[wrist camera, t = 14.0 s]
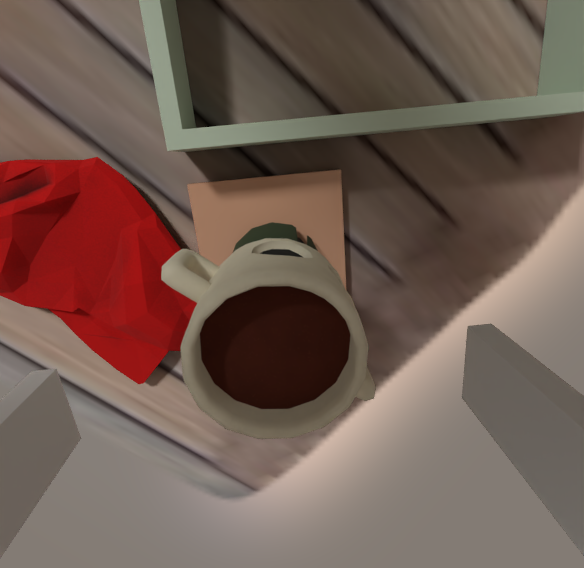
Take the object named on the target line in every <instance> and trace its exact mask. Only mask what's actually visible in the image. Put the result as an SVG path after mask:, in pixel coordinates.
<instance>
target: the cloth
mask: <svg viewBox="0 0 584 568" xmlns="http://www.w3.org/2000/svg"><path fill="white" fill-rule="evenodd" d="M180 250H181V249H180V247H179V246H178V244H177V243H176V242H175V240H174V239H173V237H172V236H171V234H170V233H169V232H168V230H167V229H166V227H165V226H164V225H163V223H162V222H161V220H160V219H159V218H158V216H157V215H156V213H155V212H154V211H153V210H152V208H151V207H150V206H149V205H148V203H147V202H146V201H145V200H144V198H143V197H142V196H141V195H140V193H139V192H138V191H137V190H136V188H135V187H134V186H133V185H132V184H131V183H130V182H129V181H128V180H127V179H126V178H125V177H124V176H123V175H122V174H120V173H119V172H117V171H116V170H115V169H113V168H112V167H111V166H109V165H108V164H106V163H105V162H104V161H102V160H101V159H99V158H98V157H95V158H90V159H86V160H15V161H7V162H1V163H0V295H1V296H3V297H5V298H8V299H10V300H12V301H15V302H17V303H20V304H22V305H24V306H30V307H39V308H47V309H49V310H50V311H51V312H53V313H54V314H55V315H57V316H58V317H60V318H61V319H62V320H63V321H64V322H65V323H66V325H67V326H68V327H69V328H70V329H71V330H72V331H73V332H74V333H75V334H76V335H77V336H78V337H79V338H80V339H81V340H82V341H83V342H84V343H85V344H87V345H88V346H89V347H90V348H91V349H92V350H93V351H94V352H95V353H97V354H98V355H99V356H100V357H102V358H103V359H104V360H106V361H107V362H108V363H109V364H111V365H112V366H113V367H114V368H116V369H117V370H118V371H120V372H121V373H123V374H124V375H126V376H127V377H129V378H130V379H132V380H133V381H135V382H136V383H138V384H142V383H144V382H145V381H146V379H147V378H148V377H149V376H150V374H151V373H152V372H153V371H154V369H155V368H156V367H157V366H158V364H159V363H160V362H161V360H162V359H163V358H164V356H165V355H166V354H167V353H168V351H181V349H180V347H181V343H182V340H183V337H184V335H185V332H186V329H187V327H188V324H189V322H190V319H191V316H192V314H193V311H194V309H195V307H196V305H197V303H196V302H195V301H193V300H191V299H190V298H188V297H186V296H185V295H183V294H181V293H179V292H178V291H176V290H174V289H173V288H171V287H170V286H169V285H167V284H166V283H165V282H164V281H162V280H161V273H162V266H163V265H164V264H165V263H166V262H167V261H168V260H169V259H170V258H171V257H172V256H173V255H174V254H175V253H177V252H178V251H180Z"/></svg>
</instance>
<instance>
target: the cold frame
mask: <svg viewBox="0 0 584 568" xmlns="http://www.w3.org/2000/svg"><path fill="white" fill-rule="evenodd" d="M139 3H140V8H141V14H142V19H143V24H144V30H145V35H146V40H147V45H148V51H149V56H150V61H151V67H152V72H153V77H154V82H155V88H156V93H157V98H158V104H159V109H160V114H161V119H162V125H163V130H164V135H165V141H166V146H167V151H178V152H189V151H199V150H209V149H220V148H230V147H241V146H251V145H262V144H272V143H283V142H293V141H304V140H314V139H325V138H335V137H346V136H356V135H367V134H377V133H388V132H398V131H409V130H419V129H430V128H440V127H451V126H461V125H472V124H482V123H493V122H503V121H514V120H524V119H535V118H545V117H553V116H560V115H567V114H574V113H581V112H584V0H548V4H547V13H546V22H545V31H544V39H543V48H542V57H541V66H540V74H539V83H538V92H537V96H530V97H519V98H509V99H498V100H488V101H477V102H466V103H456V104H445V105H435V106H424V107H414V108H403V109H393V110H382V111H371V112H361V113H350V114H340V115H329V116H319V117H308V118H297V119H287V120H276V121H266V122H255V123H245V124H234V125H224V126H213V127H202V128H196V124H195V117H194V111H193V105H192V99H191V93H190V87H189V80H188V74H187V68H186V62H185V56H184V50H183V43H182V37H181V31H180V25H179V19H178V13H177V6H176V0H139Z"/></svg>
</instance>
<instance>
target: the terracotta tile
mask: <svg viewBox="0 0 584 568" xmlns="http://www.w3.org/2000/svg"><path fill="white" fill-rule="evenodd" d="M187 185H188V191H189V197H190V202H191V208H192V214H193V219H194V225H195V231H196V236H197V242H198V247H199V253H200V255H201V256H203V257H205V258H206V259H208V260H209V261H211V262H213V263H214V264H216V265H217V266H220V265H221V264H222V263H223V262H224V261H225V260H226V259H227V258H228V257H229V256H230V255H231V254H232V253H233V250H234V248H235V245H236V243H237V242H238V241H239V240H240V239H241V238H242V237H243V236H244V235H245V234H246V233H247V232H248V231H249V230H250V229H252V228H255V227H258V226H261V225H265V224H268V223H271V222H274V223H282V224H290V225H293V226H294V227H296V230H297V237H299V238H300V239H301V240H302V241H303V242H304V244H306V245H307V236H309V237H310V238H311V239H312V241H313V243H314V245H315V246H316V248H317V250H318V252H319V253H320V254H322V255H323V256H324V257H325V258H326V259H327V260H328V261H329V263H330V264H331V265H332V266H333V267H334V269H335V270H336V271H337V272H338V273H339V276H340V278H341V280H342V283H343V285H344V287H345V289H346V270H345V248H344V226H343V203H342V181H341V170H340V169H336V170H326V171H316V172H305V173H295V174H285V175H274V176H264V177H253V178H243V179H233V180H222V181H212V182H201V183H191V184H187Z"/></svg>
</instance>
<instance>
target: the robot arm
mask: <svg viewBox="0 0 584 568" xmlns="http://www.w3.org/2000/svg"><path fill="white" fill-rule="evenodd" d="M462 398H463V400H464V401H465V402H466V404H467V405H468V406H469V407H470V409H471V410H472V411H473V413H474V414H475V415H476V417H477V418H478V419H479V420H480V422H481V423H482V424H483V426H484V427H485V428H486V430H487V431H488V432H489V433H490V435H491V436H492V437H493V438H494V440H495V441H496V443H497V444H498V445H499V446H500V448H501V449H502V450H503V452H504V453H505V454H506V456H507V457H508V458H509V459H510V460H511V462H512V463H513V464H514V466H515V467H516V468H517V470H518V471H519V472H520V474H521V475H522V476H523V478H524V479H525V480H526V482H527V483H528V484H529V485H530V487H531V488H532V489H533V490H534V492H535V493H536V494H537V496H538V497H539V498H540V500H541V501H542V502H543V504H544V505H545V506H546V507H547V509H548V510H549V511H550V513H551V514H552V515H553V517H554V518H555V519H556V520H557V522H558V523H559V524H560V526H561V527H562V528H563V530H564V531H565V532H566V533H567V535H568V536H569V537H570V539H571V540H572V541H573V543H574V544H575V545H576V546H577V548H578V549H579V550H580V551H581V553H582V554H583V556H584V396H583V395H582V394H580V393H579V392H578V391H576V390H575V389H574V388H573V387H571V386H570V385H569V384H567V383H566V382H565V381H564V380H562V379H561V378H559V376H557V375H556V374H555V373H553V372H552V371H551V370H550V369H548V368H547V367H546V366H545V365H543V364H542V363H541V362H539V361H538V360H537V359H536V358H534V357H533V356H532V355H531V354H529V353H528V352H527V351H525V350H524V349H523V348H522V347H520V346H519V345H518V344H516V343H515V342H514V341H513V340H511V339H510V338H509V337H508V336H506V335H505V334H504V333H502V332H501V331H500V330H499V329H497V328H496V327H495V326H494V325H492V324H484V325H474V326H468V329H467V341H466V354H465V367H464V380H463V392H462ZM80 439H81V437H80V434H79V431H78V428H77V425H76V423H75V420H74V417H73V414H72V411H71V408H70V406H69V403H68V400H67V397H66V394H65V392H64V389H63V386H62V383H61V380H60V378H59V375H58V372H57V369H49V370H39V371H32V372H31V373H29V374H28V375H27V376H26V377H25V378H24V379H23V380H22V381H21V382H20V383H18V384H17V385H16V386H15V387H14V388H13V389H12V390H11V391H10V392H9V393H8V394H6V395H5V396H4V397H3V398H2V399H1V400H0V558H1V557H2V555H3V554H4V552H5V551H6V549H7V548H8V546H9V545H10V543H11V542H12V540H13V539H14V537H15V536H16V534H17V533H18V531H19V530H20V528H21V527H22V526H23V524H24V523H25V521H26V519H27V518H28V516H29V515H30V514H31V512H32V511H33V509H34V508H35V506H36V505H37V503H38V502H39V500H40V499H41V497H42V496H43V494H44V493H45V491H46V490H47V488H48V487H49V485H50V484H51V482H52V481H53V479H54V478H55V476H56V475H57V473H58V472H59V470H60V469H61V467H62V466H63V465H64V463H65V462H66V460H67V459H68V457H69V456H70V454H71V452H72V451H73V450H74V448H75V446H76V445H77V444H78V442H79V441H80Z"/></svg>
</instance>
